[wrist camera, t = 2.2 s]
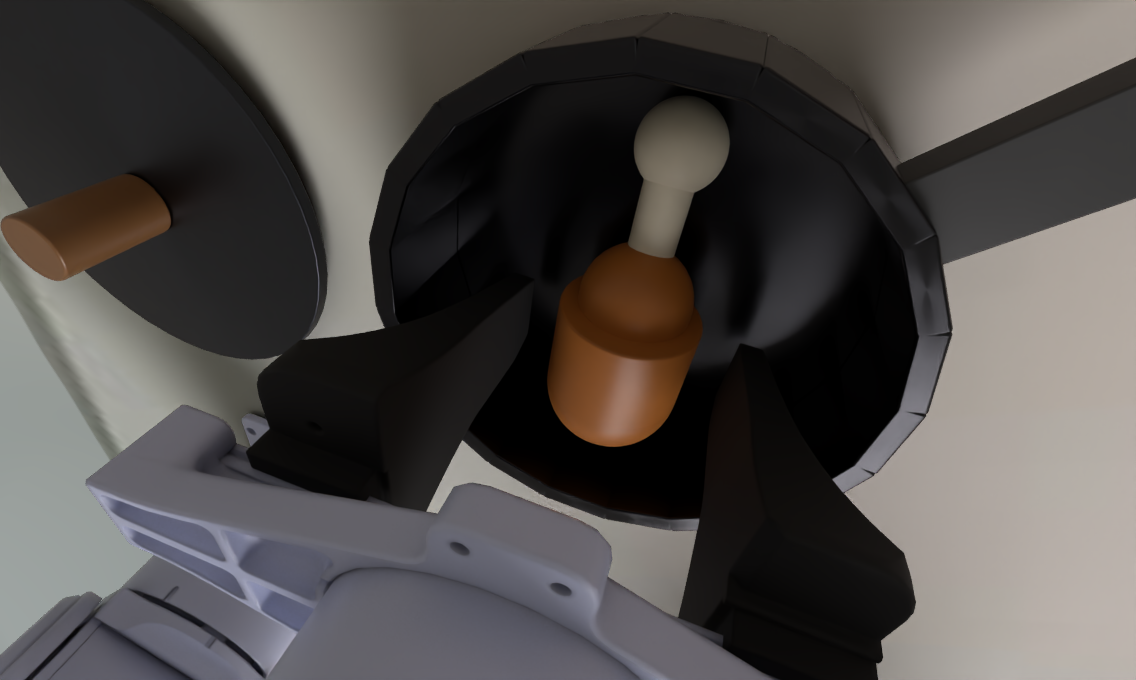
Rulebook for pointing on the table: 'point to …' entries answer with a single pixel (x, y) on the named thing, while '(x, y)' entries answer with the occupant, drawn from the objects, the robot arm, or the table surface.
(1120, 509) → the table surface
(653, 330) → the drumstick
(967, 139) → the pan handle
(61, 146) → the pan lid
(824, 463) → the pan
